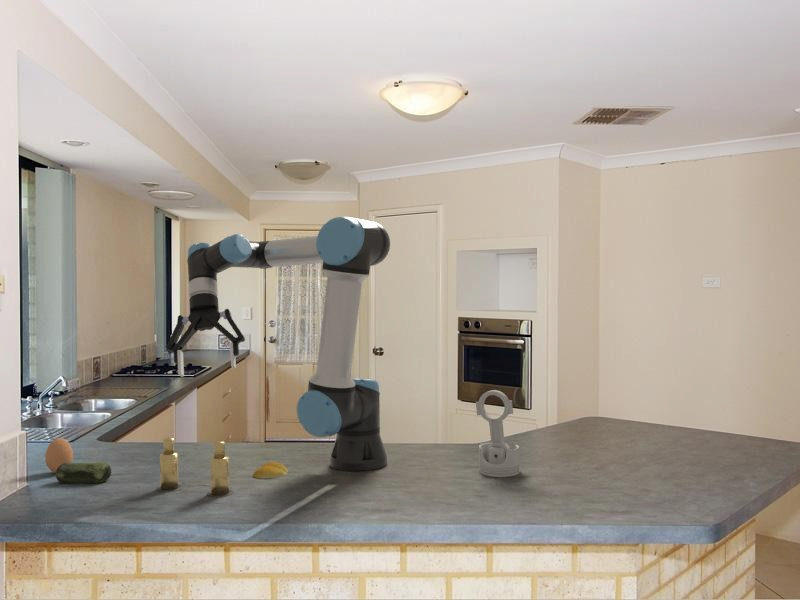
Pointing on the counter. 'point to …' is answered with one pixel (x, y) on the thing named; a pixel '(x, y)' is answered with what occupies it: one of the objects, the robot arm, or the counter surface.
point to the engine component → (497, 442)
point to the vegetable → (83, 472)
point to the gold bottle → (219, 470)
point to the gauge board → (195, 484)
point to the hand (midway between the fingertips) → (207, 371)
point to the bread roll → (270, 471)
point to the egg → (58, 454)
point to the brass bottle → (168, 466)
